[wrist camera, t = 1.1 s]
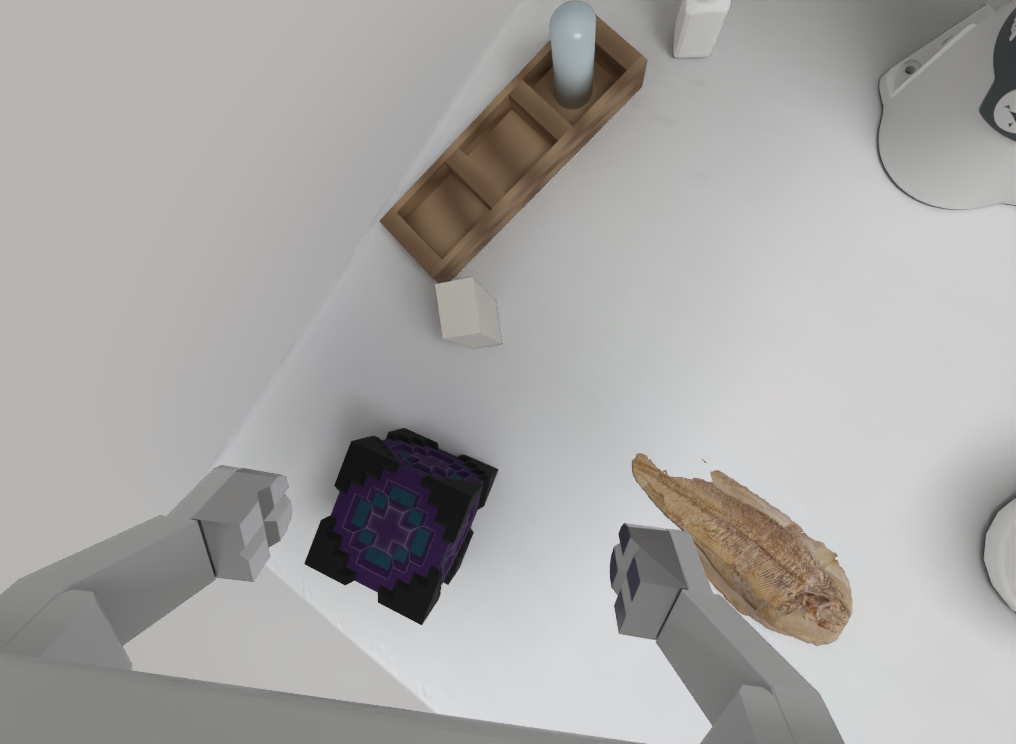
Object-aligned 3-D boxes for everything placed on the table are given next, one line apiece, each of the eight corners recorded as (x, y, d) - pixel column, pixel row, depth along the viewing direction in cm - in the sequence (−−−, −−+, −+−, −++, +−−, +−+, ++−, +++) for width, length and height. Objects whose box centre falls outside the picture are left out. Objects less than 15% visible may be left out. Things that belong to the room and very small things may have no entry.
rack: (583, 35, 49) (583, 4, 45) (641, 86, 47) (647, 59, 43) (394, 233, 52) (379, 221, 48) (444, 286, 50) (433, 278, 46)
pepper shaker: (713, 22, 46) (747, -70, 37) (710, 59, 46) (743, -23, 37) (674, 24, 47) (697, -65, 38) (671, 61, 47) (694, -20, 38)
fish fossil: (601, 491, 47) (602, 493, 46) (659, 416, 47) (661, 416, 46) (815, 660, 43) (822, 667, 42) (878, 578, 43) (887, 582, 42)
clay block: (496, 300, 49) (472, 276, 38) (502, 343, 49) (480, 332, 38) (466, 305, 50) (434, 284, 39) (472, 348, 50) (442, 339, 39)
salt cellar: (574, 65, 47) (573, -9, 38) (600, 89, 47) (605, 19, 38) (547, 93, 47) (540, 26, 39) (573, 117, 47) (571, 54, 38)
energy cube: (459, 567, 49) (421, 625, 37) (368, 522, 51) (304, 564, 39) (498, 469, 49) (472, 496, 37) (404, 428, 51) (351, 441, 39)
